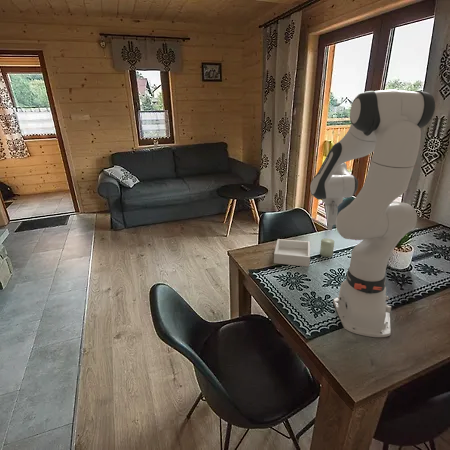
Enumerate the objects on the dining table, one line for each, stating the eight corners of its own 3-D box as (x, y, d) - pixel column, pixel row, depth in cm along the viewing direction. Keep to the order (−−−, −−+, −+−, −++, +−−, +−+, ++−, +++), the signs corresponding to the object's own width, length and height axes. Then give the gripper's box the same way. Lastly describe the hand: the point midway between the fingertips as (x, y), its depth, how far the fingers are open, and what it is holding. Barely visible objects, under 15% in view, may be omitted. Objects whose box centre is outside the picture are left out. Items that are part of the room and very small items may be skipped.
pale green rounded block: (333, 257, 137) (334, 244, 135) (320, 256, 139) (321, 243, 136) (332, 251, 143) (333, 238, 140) (319, 250, 144) (321, 237, 141)
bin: (309, 266, 130) (310, 257, 128) (273, 263, 134) (274, 253, 132) (309, 250, 144) (310, 241, 143) (277, 247, 149) (277, 238, 147)
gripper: (342, 206, 120) (338, 235, 125) (338, 191, 138) (334, 217, 143) (326, 205, 121) (322, 234, 127) (324, 190, 139) (321, 217, 145)
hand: (329, 225), depth 135 cm, fingers open, 8 cm apart
